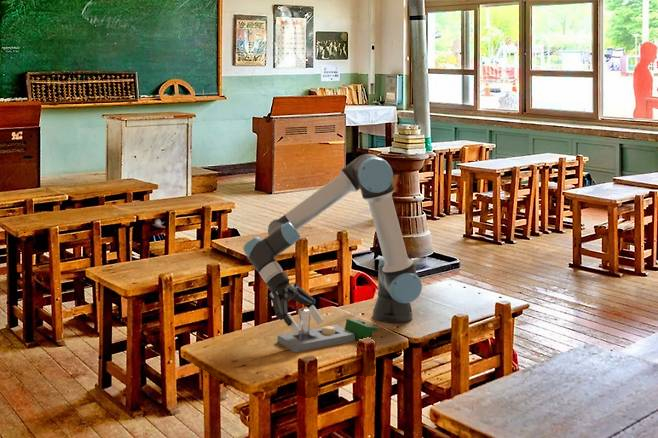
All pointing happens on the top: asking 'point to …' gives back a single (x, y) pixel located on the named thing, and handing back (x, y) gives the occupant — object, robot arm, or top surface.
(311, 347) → the bolt plate
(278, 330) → the top surface
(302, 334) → the peg
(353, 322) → the green angular block
